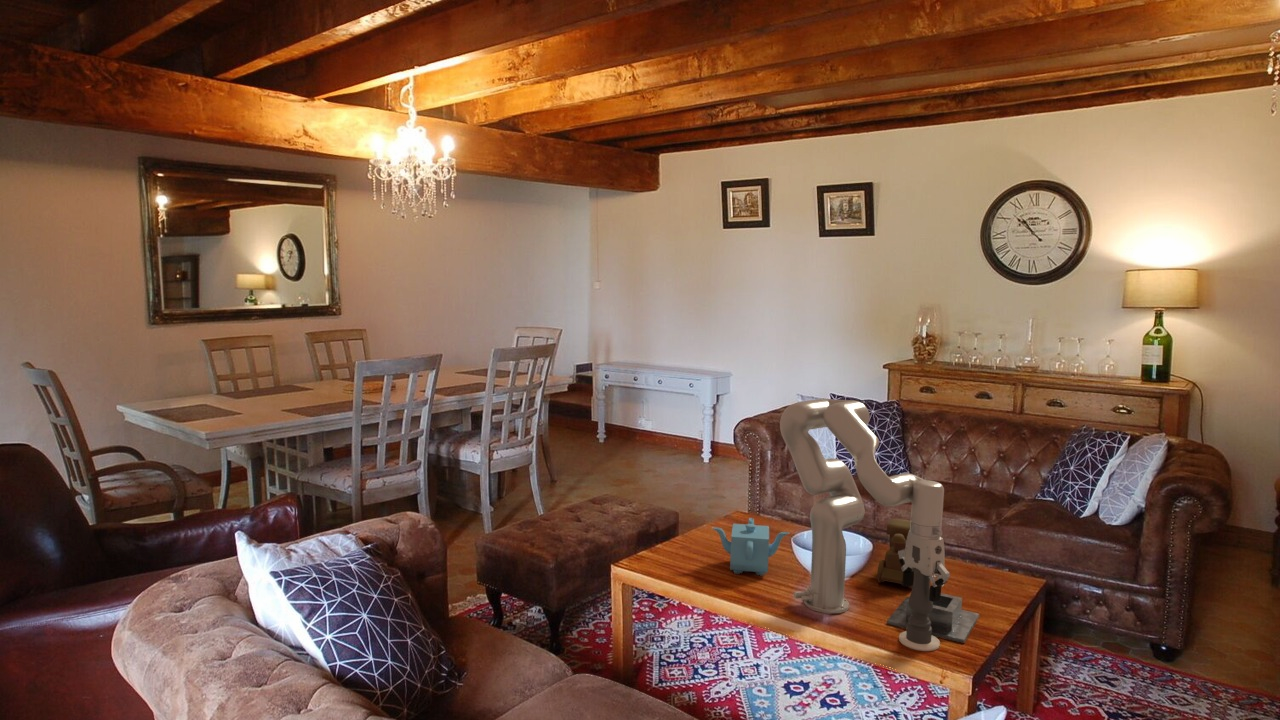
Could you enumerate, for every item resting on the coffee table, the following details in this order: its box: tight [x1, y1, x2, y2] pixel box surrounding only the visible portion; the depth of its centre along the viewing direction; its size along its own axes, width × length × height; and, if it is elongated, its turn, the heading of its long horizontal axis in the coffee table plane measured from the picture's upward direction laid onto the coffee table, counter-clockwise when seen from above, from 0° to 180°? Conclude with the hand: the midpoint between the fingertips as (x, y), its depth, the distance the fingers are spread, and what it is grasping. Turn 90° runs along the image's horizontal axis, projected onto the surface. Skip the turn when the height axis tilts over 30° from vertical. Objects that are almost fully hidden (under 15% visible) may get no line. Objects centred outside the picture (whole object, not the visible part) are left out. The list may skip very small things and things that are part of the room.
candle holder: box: [906, 546, 933, 644], centre depth 204 cm, size 6×6×25 cm
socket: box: [886, 592, 980, 644], centre depth 218 cm, size 20×20×6 cm
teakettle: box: [711, 517, 790, 576], centre depth 255 cm, size 19×19×15 cm
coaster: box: [898, 630, 941, 652], centre depth 205 cm, size 10×10×1 cm
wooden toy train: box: [876, 518, 915, 590], centre depth 248 cm, size 20×11×17 cm, turn 151°
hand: (920, 592), depth 204 cm, fingers open, 9 cm apart
